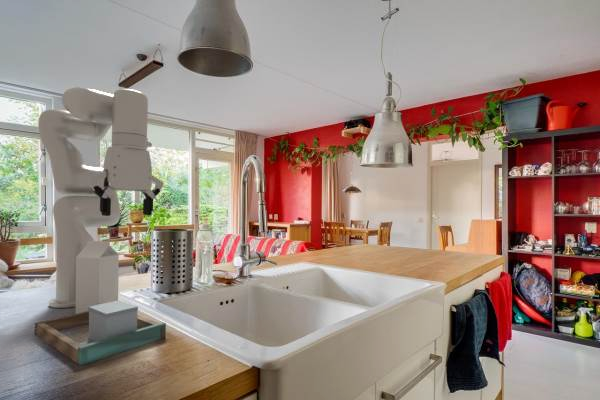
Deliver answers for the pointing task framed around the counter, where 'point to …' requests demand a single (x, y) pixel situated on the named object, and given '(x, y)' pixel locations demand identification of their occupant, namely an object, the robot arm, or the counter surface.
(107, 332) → the grey block
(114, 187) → the robot arm
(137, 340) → the bay
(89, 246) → the milk carton
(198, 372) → the counter surface
